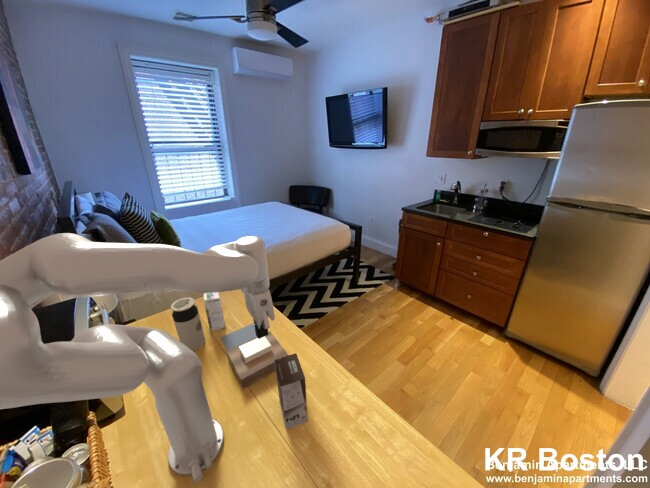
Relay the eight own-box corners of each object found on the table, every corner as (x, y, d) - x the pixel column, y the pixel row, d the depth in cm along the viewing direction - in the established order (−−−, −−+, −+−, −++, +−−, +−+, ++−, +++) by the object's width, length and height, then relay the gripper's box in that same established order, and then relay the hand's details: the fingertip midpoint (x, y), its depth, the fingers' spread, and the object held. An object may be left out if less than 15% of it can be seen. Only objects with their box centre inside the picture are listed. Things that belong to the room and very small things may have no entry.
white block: (272, 350, 91) (271, 345, 91) (246, 363, 87) (245, 358, 86) (264, 339, 96) (263, 335, 95) (239, 351, 91) (238, 346, 90)
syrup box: (209, 323, 110) (202, 293, 105) (224, 319, 113) (218, 289, 107) (210, 332, 106) (202, 301, 100) (226, 327, 108) (219, 297, 102)
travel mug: (176, 350, 98) (164, 309, 90) (191, 334, 105) (181, 295, 97) (196, 353, 96) (184, 312, 88) (209, 338, 103) (200, 298, 96)
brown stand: (289, 363, 91) (288, 354, 90) (242, 388, 83) (241, 379, 81) (271, 339, 102) (270, 331, 100) (228, 359, 93) (226, 350, 92)
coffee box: (308, 421, 73) (306, 379, 67) (285, 430, 71) (280, 387, 65) (299, 392, 81) (296, 352, 75) (278, 400, 79) (273, 359, 73)
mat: (270, 339, 102) (270, 338, 102) (230, 357, 94) (230, 357, 94) (258, 321, 111) (257, 321, 111) (220, 337, 103) (220, 337, 103)
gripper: (280, 289, 69) (285, 344, 76) (256, 267, 80) (263, 317, 87) (251, 300, 65) (260, 357, 72) (231, 274, 76) (240, 326, 83)
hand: (262, 335), depth 80 cm, fingers closed
